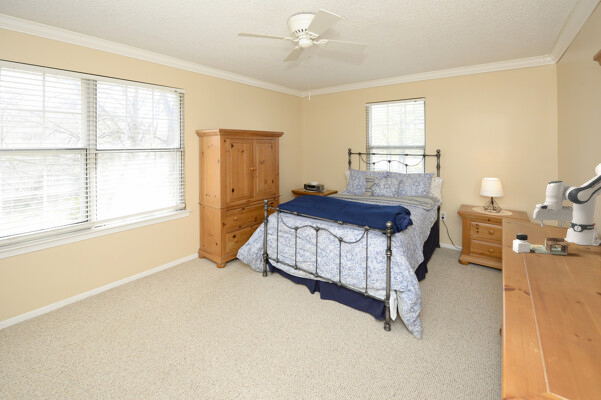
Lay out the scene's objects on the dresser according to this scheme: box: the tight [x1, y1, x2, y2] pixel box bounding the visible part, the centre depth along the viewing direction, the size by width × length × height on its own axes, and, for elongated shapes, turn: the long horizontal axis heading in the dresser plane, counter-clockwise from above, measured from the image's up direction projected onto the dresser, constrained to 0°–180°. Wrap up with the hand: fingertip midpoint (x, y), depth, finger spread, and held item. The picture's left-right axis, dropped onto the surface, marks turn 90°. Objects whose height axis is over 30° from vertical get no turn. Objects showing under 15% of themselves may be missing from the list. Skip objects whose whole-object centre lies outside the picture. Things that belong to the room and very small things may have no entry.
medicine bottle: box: [512, 233, 531, 254], centre depth 199 cm, size 7×7×12 cm
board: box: [530, 243, 568, 256], centre depth 198 cm, size 16×15×3 cm
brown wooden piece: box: [545, 236, 569, 254], centre depth 190 cm, size 9×7×8 cm
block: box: [544, 238, 557, 249], centre depth 199 cm, size 4×4×6 cm
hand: (551, 226), depth 197 cm, fingers open, 8 cm apart
